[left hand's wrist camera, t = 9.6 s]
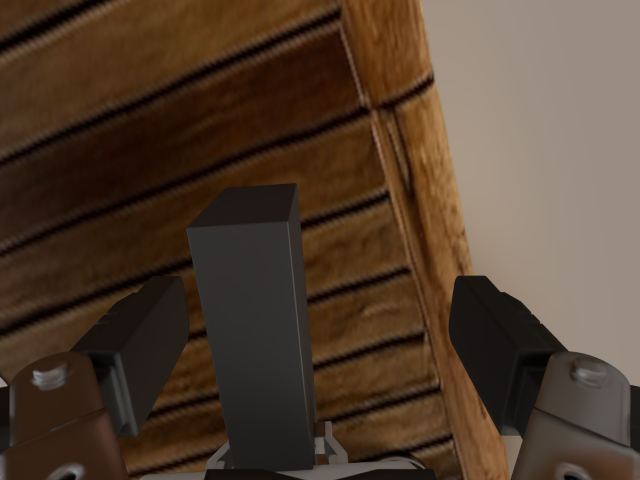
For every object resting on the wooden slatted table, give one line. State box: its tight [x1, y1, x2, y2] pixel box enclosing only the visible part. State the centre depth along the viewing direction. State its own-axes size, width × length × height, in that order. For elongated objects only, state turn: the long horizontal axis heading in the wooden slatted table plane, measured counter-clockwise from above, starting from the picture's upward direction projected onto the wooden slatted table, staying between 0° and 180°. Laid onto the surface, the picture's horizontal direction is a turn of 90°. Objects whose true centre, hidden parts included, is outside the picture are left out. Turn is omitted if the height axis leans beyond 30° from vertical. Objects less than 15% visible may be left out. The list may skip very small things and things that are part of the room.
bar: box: [186, 183, 317, 472], centre depth 28 cm, size 23×5×9 cm, turn 4°
